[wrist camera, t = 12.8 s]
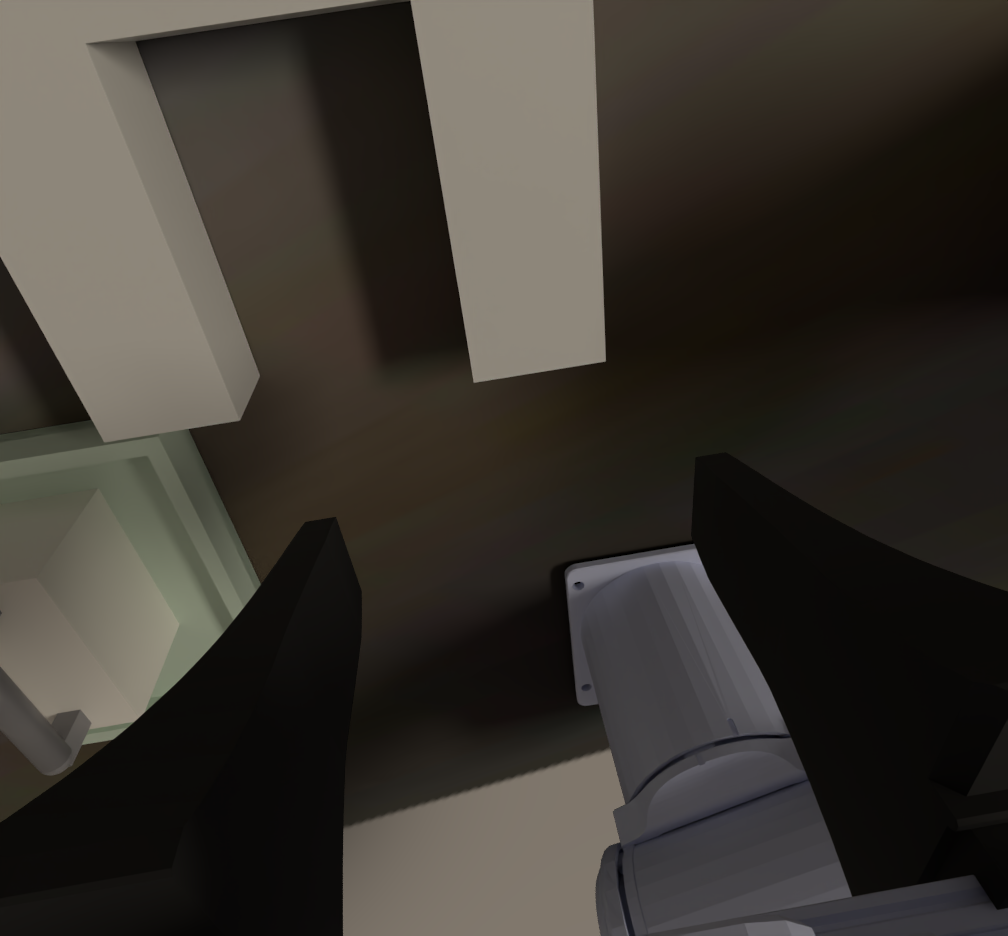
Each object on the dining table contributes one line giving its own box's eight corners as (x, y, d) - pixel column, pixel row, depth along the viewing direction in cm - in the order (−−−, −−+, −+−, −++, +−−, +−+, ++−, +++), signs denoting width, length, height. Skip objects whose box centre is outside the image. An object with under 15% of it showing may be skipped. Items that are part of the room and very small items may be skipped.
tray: (301, 670, 30) (294, 708, 28) (61, 711, 30) (40, 752, 28) (177, 406, 22) (158, 436, 20) (-152, 459, 22) (-199, 494, 20)
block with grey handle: (179, 624, 27) (119, 773, 21) (81, 640, 27) (-3, 795, 21) (98, 488, 23) (0, 629, 17) (-17, 507, 23) (-152, 655, 17)
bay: (584, 323, 22) (605, 361, 19) (140, 395, 22) (104, 442, 19) (556, -185, 15) (584, -228, 12) (-103, -92, 15) (-209, -117, 12)
